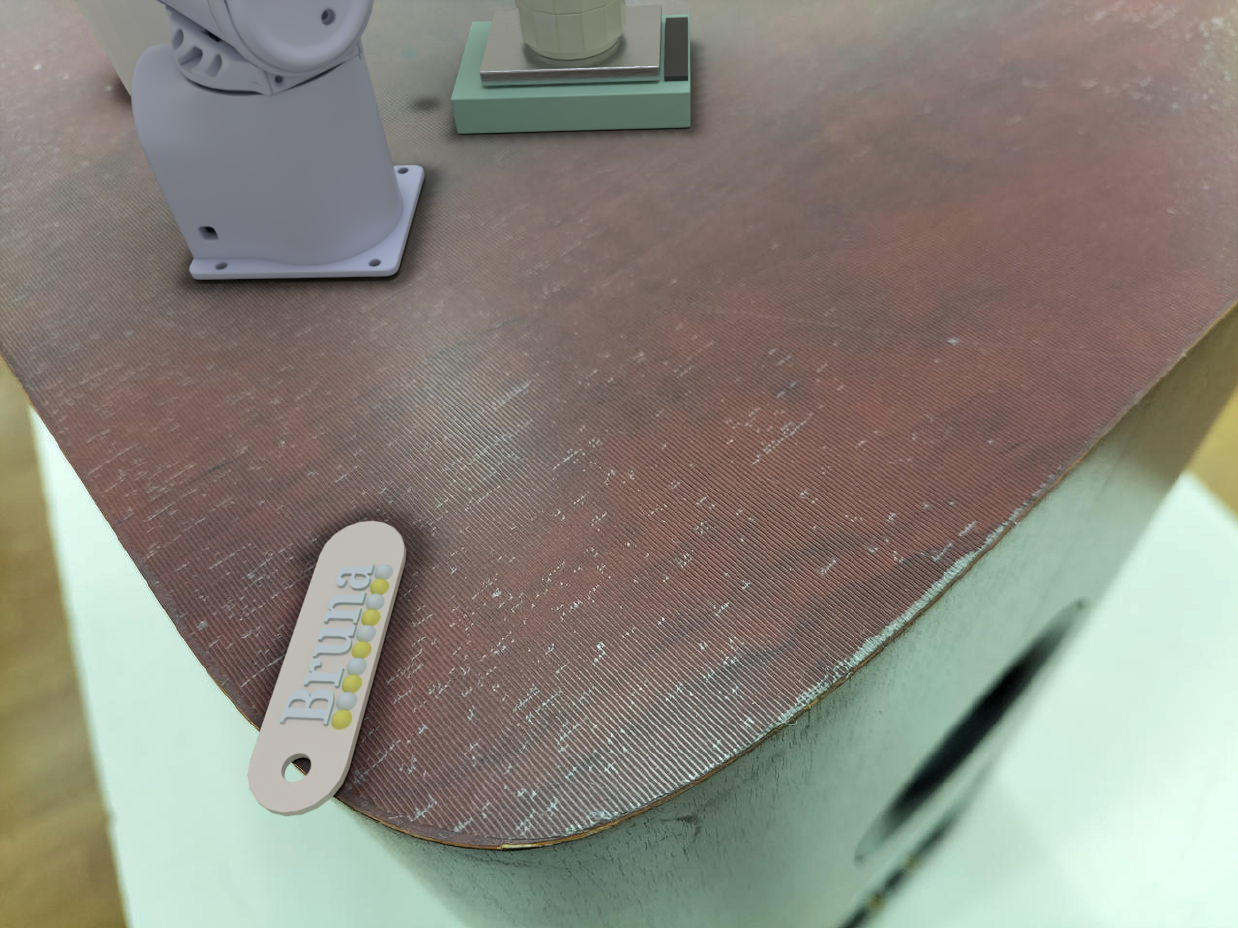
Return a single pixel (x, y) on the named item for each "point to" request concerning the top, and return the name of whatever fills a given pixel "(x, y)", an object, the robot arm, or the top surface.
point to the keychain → (328, 669)
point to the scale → (576, 94)
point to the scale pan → (620, 63)
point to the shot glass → (126, 30)
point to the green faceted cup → (570, 26)
